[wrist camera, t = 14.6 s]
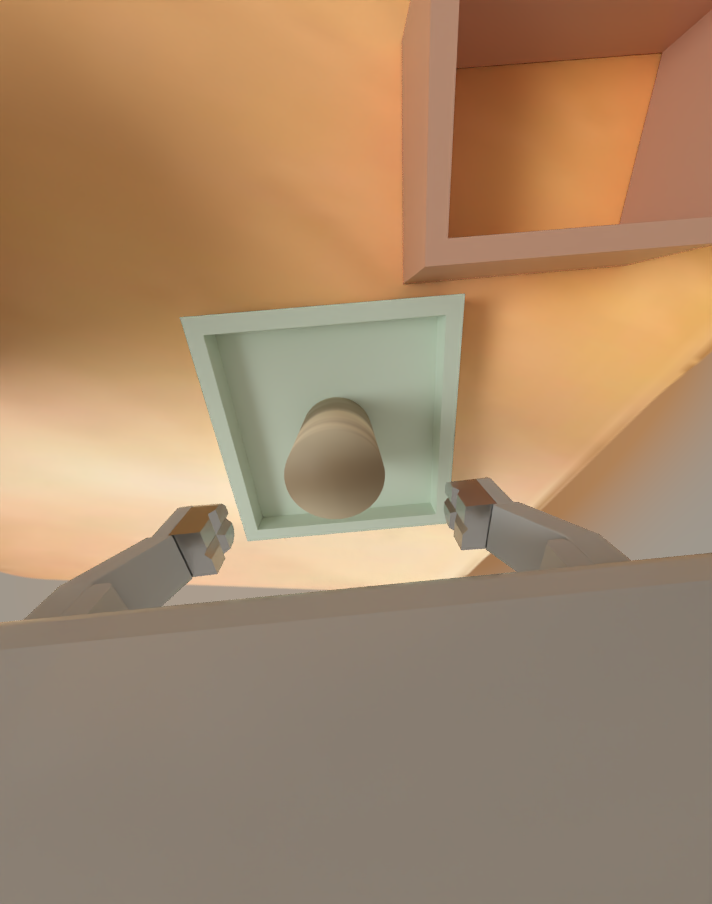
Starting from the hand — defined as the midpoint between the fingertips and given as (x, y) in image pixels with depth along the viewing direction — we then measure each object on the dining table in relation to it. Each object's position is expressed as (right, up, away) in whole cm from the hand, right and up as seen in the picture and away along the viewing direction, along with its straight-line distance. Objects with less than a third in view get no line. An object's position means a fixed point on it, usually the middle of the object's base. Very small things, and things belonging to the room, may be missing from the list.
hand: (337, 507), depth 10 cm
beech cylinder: (-1, +4, +10) cm, 10 cm away
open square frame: (+10, +18, +5) cm, 21 cm away
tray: (-1, +4, +11) cm, 11 cm away
